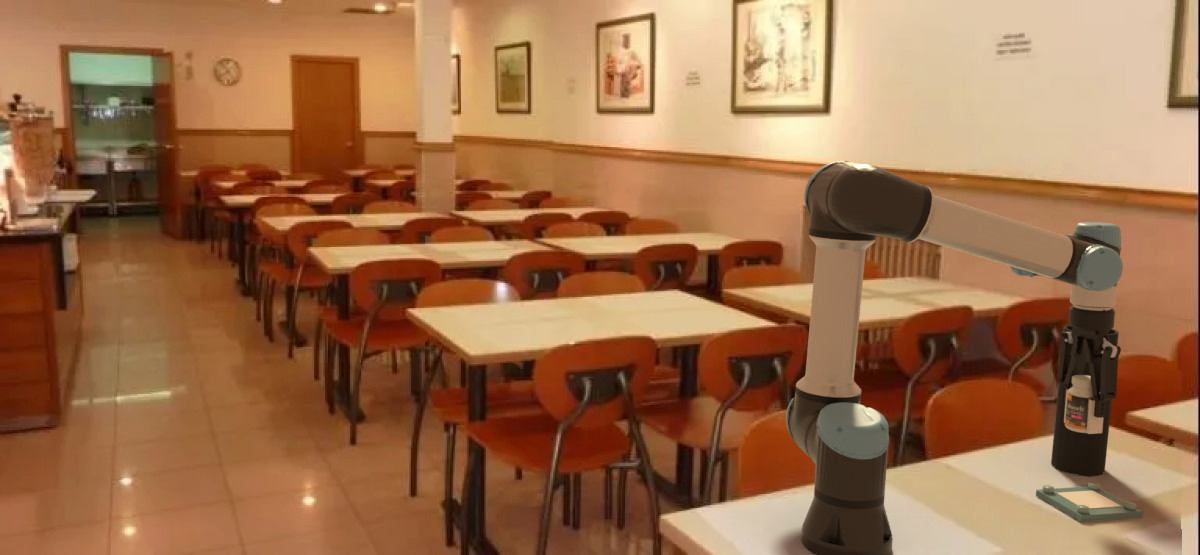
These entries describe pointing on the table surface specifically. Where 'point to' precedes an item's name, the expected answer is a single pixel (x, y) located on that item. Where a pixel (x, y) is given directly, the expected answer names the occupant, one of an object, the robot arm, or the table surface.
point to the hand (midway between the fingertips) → (1082, 427)
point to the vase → (1080, 435)
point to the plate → (1088, 503)
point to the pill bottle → (1078, 403)
